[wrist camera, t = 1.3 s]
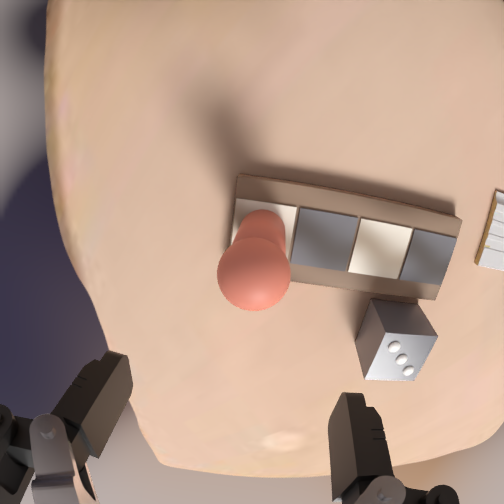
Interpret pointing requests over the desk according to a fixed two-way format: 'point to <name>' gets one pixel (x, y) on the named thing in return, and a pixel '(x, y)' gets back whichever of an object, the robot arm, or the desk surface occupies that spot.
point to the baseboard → (493, 237)
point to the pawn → (256, 263)
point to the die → (394, 341)
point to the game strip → (354, 237)
